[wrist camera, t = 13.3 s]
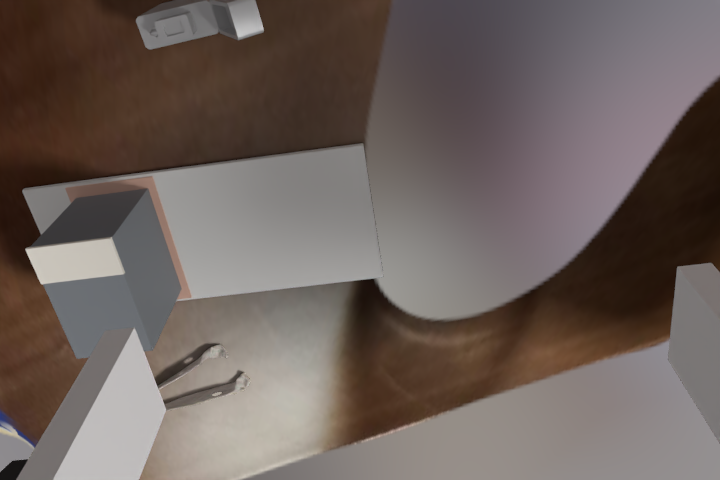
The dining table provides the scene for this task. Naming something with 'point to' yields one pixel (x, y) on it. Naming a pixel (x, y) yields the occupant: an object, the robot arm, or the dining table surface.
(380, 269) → the flat white strip
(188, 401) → the tweezers
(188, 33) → the lighter
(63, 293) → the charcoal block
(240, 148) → the dining table surface
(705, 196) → the dining table surface
